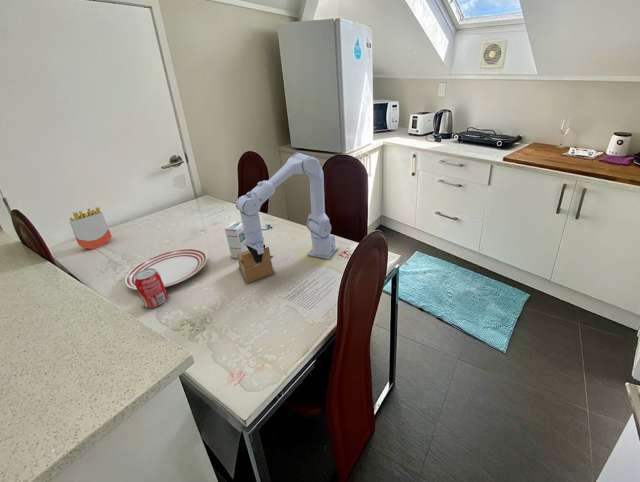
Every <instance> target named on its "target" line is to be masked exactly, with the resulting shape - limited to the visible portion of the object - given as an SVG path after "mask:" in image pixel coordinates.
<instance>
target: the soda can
mask: <svg viewBox="0 0 640 482" xmlns="http://www.w3.org/2000/svg"><path fill="white" fill-rule="evenodd" d="M135 285H136V288H137V290H136V291H137V293H138V296H139V299H140V301H141V303H142V305H143V306H144V307H145V308H156V307H159V306H161V305H162V304H163V303H164V302H165V301H167V299H168V295H167V291H166V287H164V284H163V282H162V279H161V276H160V274H159V273H158V272H157V271H156V270H155V269H153V268H150V269H145V270H142V271H140V272H138V273H137V274H136V275H135Z"/></svg>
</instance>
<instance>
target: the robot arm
mask: <svg viewBox="0 0 640 482" xmlns="http://www.w3.org/2000/svg"><path fill="white" fill-rule="evenodd" d="M304 174H305V175H306V176H308V177H309V196H310V198H309V199H310V213H309V214H308V216H307V222H306V228H307V230H309V231H310V238H311V239H310V240H311V248H312V250H311V251H310V252H309V254H308V256H311V257H315V258H316V257H317V258H321V259H326V260H327V259H328V260H329V259H330V258H331V257H332V256H333V255H334V253H335V252H336V251H337V248H336V247H337V246H336V237H335V236H334V235H332V234H331V232H332V224H331V223H330V222H331V221H330V218H329V217H328V215H327V214H326V205H325V204H326V203H325V178H324V177H325V175H324V174H325V173H324V170H323V168H322V166H321V161H320V160H319V159H318V158H316V157H314V156H311V155H306V154H303V153H302V152H295V153H294V154H293V155H291V156H290V157H289V158H287V161H286V162H285V164H283V166H281V167H280V168H279V169H278V170H277V172H275V173H274V175H272V176H271V177H270V178H269V179H268V180H262V181H258V182H257V183H256V184H257V185H256V186H255V187H253V188H252V189H251V190H250V191H248V192H247V193H246V194H244V195H241V196H239V197H238V198H237V199H236V203H235V204H234V205H235V208H236V209H237V210H238V211H239V213H240V219H241V220H240V221H241V222H242V225H243V230H244V234H245V239H246V241H244V242H242V243H243V246H246V247H247V248H248V250H249V251H250V252H251V253H252V256H253V258H254V260H255V262H256V263H260V262H262V258H263V253H264V249H265V248H266V245H265V243H264V242H265V237H264V235H263V229H262V224H261V220H260V219H261V218H260V215H259V212H260V211H261V209H262V208H261V207H262V206H263V204H265V202H266V201H268V200H269V198H271V197H272V196H273V195H274V194H275V193H276V188H278V187H279V186H280V185H281V184H282V183H283V182H285V181H286V180H287V179H289V178H290V177H292V176H293V175H304Z"/></svg>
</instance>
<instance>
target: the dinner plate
mask: <svg viewBox="0 0 640 482" xmlns="http://www.w3.org/2000/svg"><path fill="white" fill-rule="evenodd" d="M207 262H208V254H207V253H206V251H204V250H202V249H199V248H190V247H189V248H178V249H172V250H169V251H165V252H162V253H158V254H156V255H154V256H150V257H149V258H147V259H145V260H143V261H142V262H139V263H138V264H136V265H135V266H134V267H132V268H131V269H130V270H129V271H128V272H127V274H126V275H125V277H124V284H125V286H126V287H127V288H129V289H131V290H135V291H137V288H136V285H135V275H136V274H137V273H138V272H140V271H142V270H145V269H150V268H153V269H155V270H156V271H157V272H158V273H159V274H160V276H161V279H162V282H163V284H164V287H165V288H168V287H172V286H175V285H177V284H179V283H182V282H184V281H186V280H188V279H190V278H191V277H193V276H194V275H196V274H197V273H198V272H200V271H201V270H202V268H203V267H204V266H205V265H206V263H207Z"/></svg>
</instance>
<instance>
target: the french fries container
mask: <svg viewBox="0 0 640 482" xmlns="http://www.w3.org/2000/svg"><path fill="white" fill-rule="evenodd" d="M86 209H87V212H83V211H82V210H79V211H75V212H72V215H73V217H69V225H70V227H71V229H72V233H73V235H74V238H75V240H76V242H77V245H78V246H80V247H81V248H84V249H89V250H93V249H96V248H99V247H102V246H104V245H107V244H108V242H109V241H110V240H111V239H112V233H111V232H110V229H109V226H108V224H107V221H106V219H105V216H104V214H103V212H102V211H101V209H100V207H99V206H95V209H90V208H86Z"/></svg>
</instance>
